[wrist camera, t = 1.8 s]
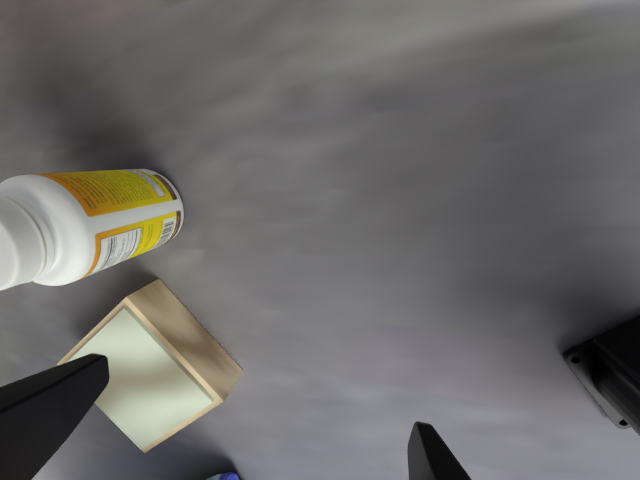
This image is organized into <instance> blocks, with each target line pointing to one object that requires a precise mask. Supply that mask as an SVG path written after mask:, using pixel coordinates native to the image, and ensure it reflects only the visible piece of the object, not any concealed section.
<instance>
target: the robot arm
mask: <svg viewBox="0 0 640 480" xmlns="http://www.w3.org/2000/svg"><path fill="white" fill-rule="evenodd" d="M573 357H576V358H575V359H572V358H573ZM563 359H564V361H565V362H566V363H567V364H568V366H569V367H570V368H571V370H572V371H573V372H574V373H575V375H576V376H577V377H578V379H579V380H580V381H581V382H582V384H583V385H584V386H585V388H586V389H587V390H588V391H589V393H590V394H591V395H592V397H593V398H594V399H595V400H596V402H597V403H598V404H599V406H600V407H601V408H602V410H603V411H604V412H605V413H606V415H607V416H608V417H609V419H610V420H611V421H612V422H613V423H614V424H615V426H617V427H618V428H620V429H627V428H630V427H632V428H633V429H634V430H635V431H636V433H637V434H638V435H639V436H640V316H639V317H636V318H634V319H632V320H630V321H628V322H626V323H624V324H622V325H620V326H618V327H615V328H613V329H611V330H609V331H607V332H605V333H603V334H601V335H599V336H596V337H594V338H592V339H590V340H588V341H586V342H584V343H582V344H580V345H578V346H575V347H573V348H571V349H569V350H567V351H566V352H564V354H563ZM571 359H572V360H571ZM109 379H110V375H109V365H108V358H107V357H106V356H105V355H101V354H96V353H91V354H88V355H85V356H82V357H80V358H77V359H74V360H72V361H69V362H66V363H64V364H61V365H58V366H56V367H53V368H50V369H48V370H45V371H42V372H40V373H37V374H34V375H32V376H29V377H26V378H24V379H21V380H18V381H16V382H13V383H10V384H7V385H5V386H2V387H0V480H32V478H33V477H34V476H35V475H36V474H37V473H38V472H39V470H40V469H41V468H42V467H43V466H44V465H45V464H46V462H47V461H48V460H49V459H50V458H51V457H52V456H53V455H54V453H55V452H56V451H57V450H58V449H59V448H60V446H61V445H62V444H63V443H64V442H65V441H66V439H67V438H68V437H69V436H70V434H71V433H72V432H73V430H74V429H75V428H76V426H77V425H78V424H79V423H80V421H81V420H82V419H83V417H84V416H85V415H86V413H87V412H88V411H89V409H90V408H91V407H92V405H93V404H94V403H95V401H96V400H97V399H98V397H99V396H100V395H101V393H102V392H103V391H104V389H105V388H106V386H107V385H108V382H109ZM408 468H409V480H471V478H470V477H469V476H468V474H467V473H466V471H465V470H464V469H463V467H462V466H461V465H460V463H459V462H458V460H457V459H456V458H455V456H454V455H453V454H452V452H451V451H450V449H449V448H448V447H447V445H446V444H445V443H444V441H443V440H442V438H441V437H440V436H439V434H438V433H437V432H436V430H435V429H434V427H433V426H432V425H430V424H428V423H423V422H418V421H417V422H415V423H414V426H413V429H412V432H411V436H410V439H409V443H408Z"/></svg>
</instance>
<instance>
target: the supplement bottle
mask: <svg viewBox="0 0 640 480" xmlns="http://www.w3.org/2000/svg"><path fill="white" fill-rule="evenodd" d="M183 218H184V210H183V204H182V201H181V198H180V196H179V194H178V192H177V190H176V189H175V187H174V186H173V185H172V183H171V182H170V181H169V180H167V179H166V178H165V177H164V176H162V175H161V174H159V173H157V172H154V171H151V170H147V169H123V170H104V171H86V172H65V173H48V174H30V175H20V176H15V177H11V178H9V179H6V180H4V181H3V182H1V183H0V290H4V289H7V288H10V287H13V286H16V285H19V284H22V283H28V282H31V281H33V282H35V283H38V284H42V285H49V286H59V285H65V284H69V283H72V282H74V281H77V280H80V279H82V278H84V277H87V276H89V275H92V274H94V273H96V272H99V271H101V270H103V269H106V268H108V267H111V266H113V265H115V264H118V263H120V262H123V261H125V260H127V259H130V258H132V257H135V256H137V255H139V254H142V253H144V252H146V251H149V250H151V249H154V248H156V247H158V246H161V245H163V244H165V243H167V242H169V241H170V240H172V239H173V238H174V237H175V236H176V235H177V234H178V232H179V231H180V229H181V226H182V223H183Z"/></svg>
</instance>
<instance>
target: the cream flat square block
mask: <svg viewBox="0 0 640 480" xmlns="http://www.w3.org/2000/svg"><path fill="white" fill-rule="evenodd" d="M91 353H96V354H101V355H105V356H106V357H107V358H108V365H109V375H110V379H109V382H108V385H107V386H106V388H105V389H104V391H103V392H102V393H101V395H100V396H99V397H98V399H97V400H96V401H95V404H96V405H97V406H98V407H99V408H100V409H101V410H102V411H103V412H104V413H105V414H106V415H107V416H108V417H109V418H110V419H111V420H112V421H113V422H114V423H115V424H116V425H117V426H118V427H119V428H120V429H121V430H122V431H123V432H124V433H125V434H126V435H127V436H128V437H129V438H130V439H131V441H132V442H133V443H134V444H135V445H136V446H137V447H138V448H139V449H140V450H142V451H143V452H144V453H145V452H147V451H149V450H150V449H152V448H153V447H155V446H156V445H158V444H159V443H161V442H162V441H164V440H165V439H167V438H168V437H170V436H172V435H173V434H175V433H176V432H178V431H179V430H181V429H182V428H184V427H185V426H187V425H188V424H190V423H191V422H193V421H194V420H196V419H198V418H199V417H201V416H202V415H204V414H205V413H207V412H208V411H210V410H211V409H213V408H214V407H216V406H217V405H219V404H221V403H222V402H224V400H225V399H226V397H227V396H228V394H229V392H230V391H231V389H232V388H233V386H234V384H235V383H236V381H237V380H238V378H239V376H240V375H241V373H242V372H243V370H242V369H241V368H240V367H239V366H238V365H237V364H236V362H235V361H234V360H233V359H232V358H231V357H230V356H229V355H228V354H227V353H226V352H225V350H224V349H223V348H222V347H221V346H220V345H219V344H218V343H217V342H216V341H215V340H214V338H213V337H212V336H211V335H210V334H209V333H208V332H207V331H206V330H205V329H204V327H203V326H202V325H201V324H200V323H199V322H198V321H197V320H196V319H195V318H194V317H193V315H192V314H191V313H190V312H189V311H188V310H187V309H186V308H185V307H184V306H183V304H182V303H181V302H180V301H179V300H178V299H177V298H176V297H175V296H174V295H173V294H172V292H171V291H170V290H169V289H168V288H167V287H166V286H165V285H164V284H163V283H162V281H161V280H160V279H157V280H155V281H154V282H152V283H150V284H148V285H146V286H145V287H143V288H141V289H139V290H137V291H136V292H134V293H132V294H130V295H128V296H127V297H125V298H124V299H123V300H122V301H121V302H120V303H119V304H118V305H117V306H116V307H115V308H114V309H113V310H112V311H111V312H110V313H109V314H108V315H107V316H106V317H105V318H104V319H103V320H102V321H101V322H100V323H99V324H98V325H96V326H95V327H94V328H93V329H92V330H91V331H90V332H89V333H88V334H87V335H86V336H85V337H84V338H83V339H82V340H81V341H80V342H79V343H78V344H77V345H76V346H75V347H74V348H73V349H72V350H71V351H70V352H69V353H68V354H67V355H65V356H64V357H63V358H62V359H61V360H60V361H59V362H58V363H57V365H61V364H64V363H66V362H69V361H72V360H74V359H77V358H80V357H82V356H85V355H88V354H91Z"/></svg>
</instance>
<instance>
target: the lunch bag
mask: <svg viewBox="0 0 640 480" xmlns="http://www.w3.org/2000/svg"><path fill="white" fill-rule="evenodd" d="M206 480H240V479H239V478H238V476H237V474H235V473H233V472H227V473H225V474H217V475H215V476H213V477H210V478H208V479H206Z"/></svg>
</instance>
